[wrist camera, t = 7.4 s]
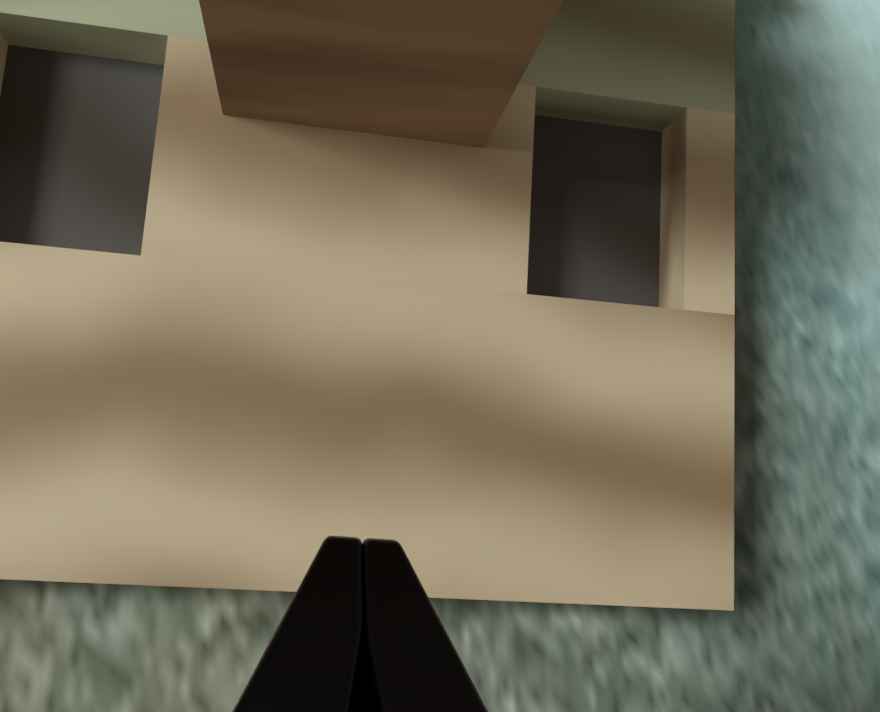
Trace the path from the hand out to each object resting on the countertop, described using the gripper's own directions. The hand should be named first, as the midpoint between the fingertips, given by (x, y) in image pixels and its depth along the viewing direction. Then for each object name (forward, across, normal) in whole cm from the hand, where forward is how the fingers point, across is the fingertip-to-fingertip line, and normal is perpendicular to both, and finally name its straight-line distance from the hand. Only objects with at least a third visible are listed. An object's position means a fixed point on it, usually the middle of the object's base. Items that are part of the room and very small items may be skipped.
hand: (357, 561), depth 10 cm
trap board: (+15, 0, +4) cm, 16 cm away
